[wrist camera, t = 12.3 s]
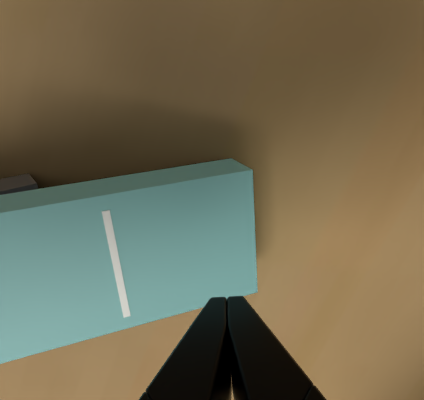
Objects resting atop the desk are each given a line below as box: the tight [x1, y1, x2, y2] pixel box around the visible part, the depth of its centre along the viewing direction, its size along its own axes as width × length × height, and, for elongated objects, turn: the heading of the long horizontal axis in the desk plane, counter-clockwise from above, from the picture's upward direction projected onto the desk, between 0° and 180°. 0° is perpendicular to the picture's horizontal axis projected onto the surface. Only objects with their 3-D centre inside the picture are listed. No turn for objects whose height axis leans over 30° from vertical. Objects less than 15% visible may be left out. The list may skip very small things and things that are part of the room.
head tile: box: [0, 158, 257, 364], centre depth 12 cm, size 2×5×10 cm
